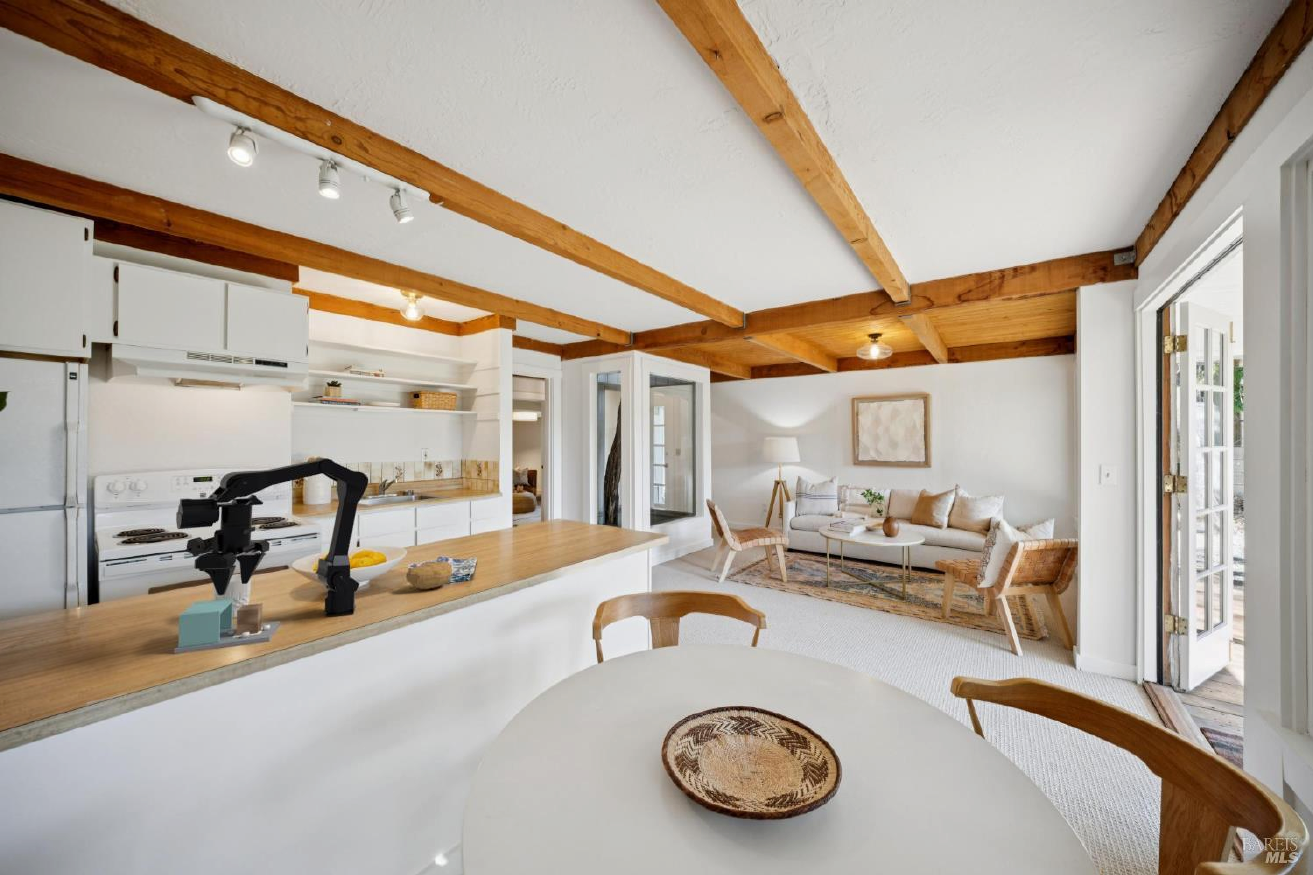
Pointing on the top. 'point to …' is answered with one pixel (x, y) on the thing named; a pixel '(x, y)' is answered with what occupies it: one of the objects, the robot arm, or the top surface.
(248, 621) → the block
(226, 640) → the base plate
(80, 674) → the top surface
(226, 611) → the housing cover
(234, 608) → the white cup
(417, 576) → the potato
